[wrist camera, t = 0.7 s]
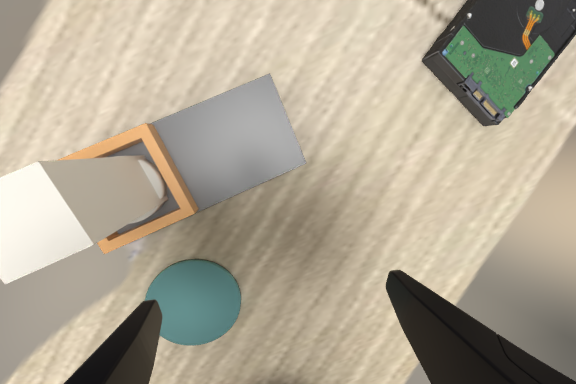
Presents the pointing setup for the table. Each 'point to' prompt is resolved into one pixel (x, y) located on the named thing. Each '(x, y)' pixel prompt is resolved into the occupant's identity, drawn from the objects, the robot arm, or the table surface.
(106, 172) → the tall white square post
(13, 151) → the table surface
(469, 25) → the disk drive
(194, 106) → the framed tray with cover
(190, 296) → the mat
